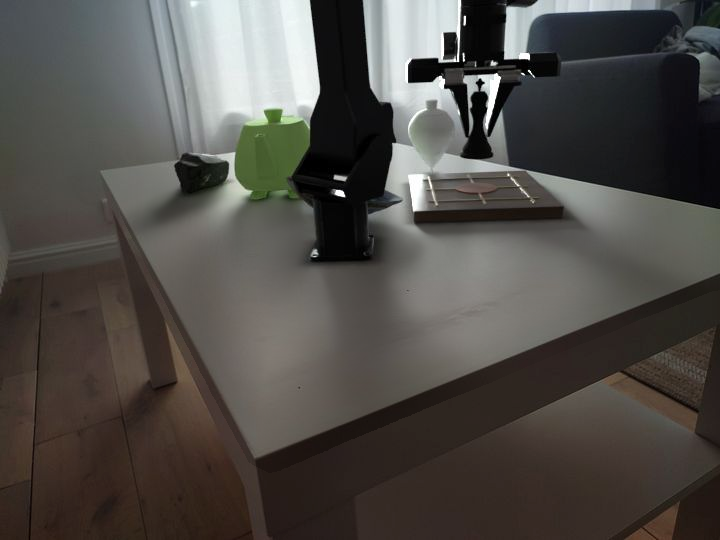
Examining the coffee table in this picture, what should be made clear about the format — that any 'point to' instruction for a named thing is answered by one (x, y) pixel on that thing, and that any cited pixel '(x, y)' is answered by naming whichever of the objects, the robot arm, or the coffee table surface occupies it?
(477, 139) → the chess piece
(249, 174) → the teapot
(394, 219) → the coffee table surface
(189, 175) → the rock
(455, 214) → the board
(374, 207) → the seashell
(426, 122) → the spinning top
